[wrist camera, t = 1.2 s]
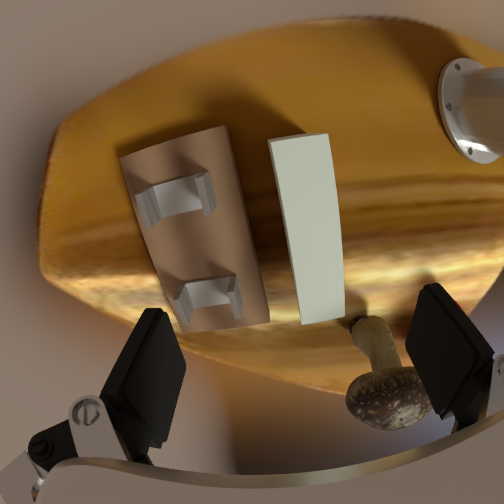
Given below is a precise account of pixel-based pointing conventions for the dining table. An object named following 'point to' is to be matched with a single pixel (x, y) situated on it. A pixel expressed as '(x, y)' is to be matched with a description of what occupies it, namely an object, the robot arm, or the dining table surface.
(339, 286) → the pale grey rectangular block
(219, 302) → the board
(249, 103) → the dining table surface
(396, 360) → the mushroom
